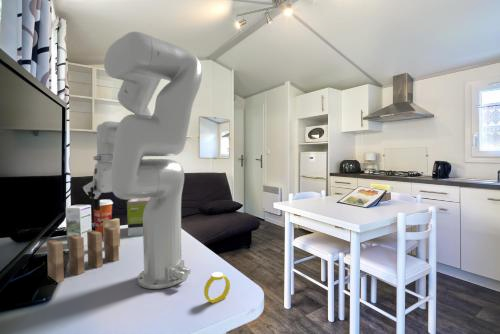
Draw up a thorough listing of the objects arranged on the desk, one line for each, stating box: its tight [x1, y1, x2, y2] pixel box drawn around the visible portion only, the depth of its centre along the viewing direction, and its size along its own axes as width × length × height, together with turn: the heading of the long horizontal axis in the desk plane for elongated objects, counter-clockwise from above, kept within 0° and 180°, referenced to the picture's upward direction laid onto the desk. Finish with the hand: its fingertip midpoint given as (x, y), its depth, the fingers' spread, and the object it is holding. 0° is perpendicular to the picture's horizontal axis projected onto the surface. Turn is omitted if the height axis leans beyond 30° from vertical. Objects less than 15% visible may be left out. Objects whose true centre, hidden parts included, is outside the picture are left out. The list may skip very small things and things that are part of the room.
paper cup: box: [92, 199, 114, 236], centre depth 106 cm, size 8×8×14 cm
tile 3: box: [68, 235, 86, 276], centre depth 70 cm, size 5×2×10 cm, turn 59°
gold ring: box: [203, 271, 231, 304], centre depth 56 cm, size 6×3×6 cm, turn 128°
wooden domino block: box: [46, 239, 65, 284], centre depth 66 cm, size 5×2×10 cm, turn 59°
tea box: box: [126, 197, 150, 237], centre depth 110 cm, size 15×10×15 cm
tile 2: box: [87, 229, 104, 269], centre depth 75 cm, size 5×2×10 cm, turn 59°
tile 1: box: [103, 227, 120, 263], centre depth 79 cm, size 5×2×10 cm, turn 59°
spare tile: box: [102, 217, 121, 251], centre depth 89 cm, size 5×2×10 cm, turn 149°
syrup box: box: [65, 204, 93, 247], centre depth 93 cm, size 6×6×14 cm
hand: (110, 207), depth 89 cm, fingers open, 9 cm apart
